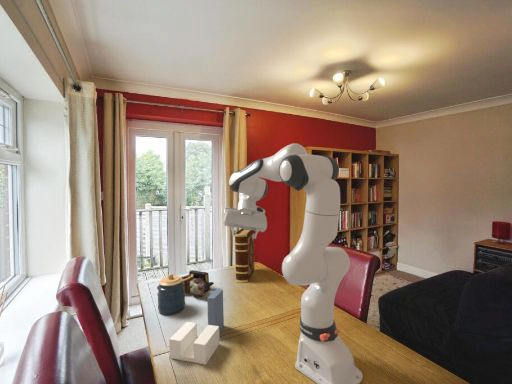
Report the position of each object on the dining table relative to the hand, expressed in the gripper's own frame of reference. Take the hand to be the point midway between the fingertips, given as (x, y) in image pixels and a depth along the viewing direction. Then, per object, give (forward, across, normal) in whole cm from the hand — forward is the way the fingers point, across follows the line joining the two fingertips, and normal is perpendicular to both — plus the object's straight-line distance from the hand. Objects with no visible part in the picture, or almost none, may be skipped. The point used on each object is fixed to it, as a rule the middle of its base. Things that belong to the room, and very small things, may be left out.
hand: (244, 236), depth 121 cm
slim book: (+36, -5, +18) cm, 41 cm away
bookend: (+14, -15, +51) cm, 55 cm away
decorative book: (-4, +13, +64) cm, 65 cm away
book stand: (+45, -13, +10) cm, 48 cm away
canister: (+26, -27, +40) cm, 54 cm away
